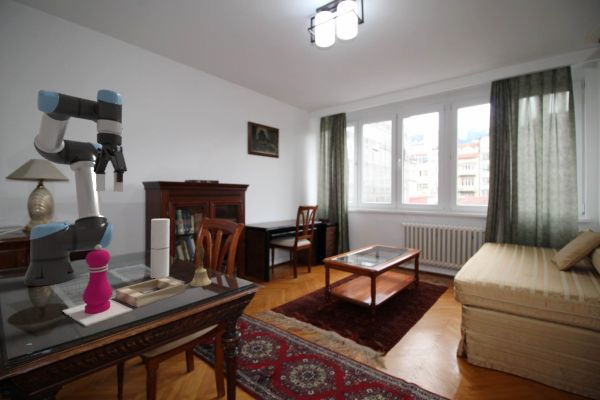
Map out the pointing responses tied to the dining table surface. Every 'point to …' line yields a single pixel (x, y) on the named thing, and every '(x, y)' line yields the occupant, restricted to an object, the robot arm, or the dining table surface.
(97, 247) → the pepper mill
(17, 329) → the dining table surface
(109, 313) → the plastic pad
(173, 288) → the maple frame
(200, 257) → the hand bell
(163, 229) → the cylindrical container
